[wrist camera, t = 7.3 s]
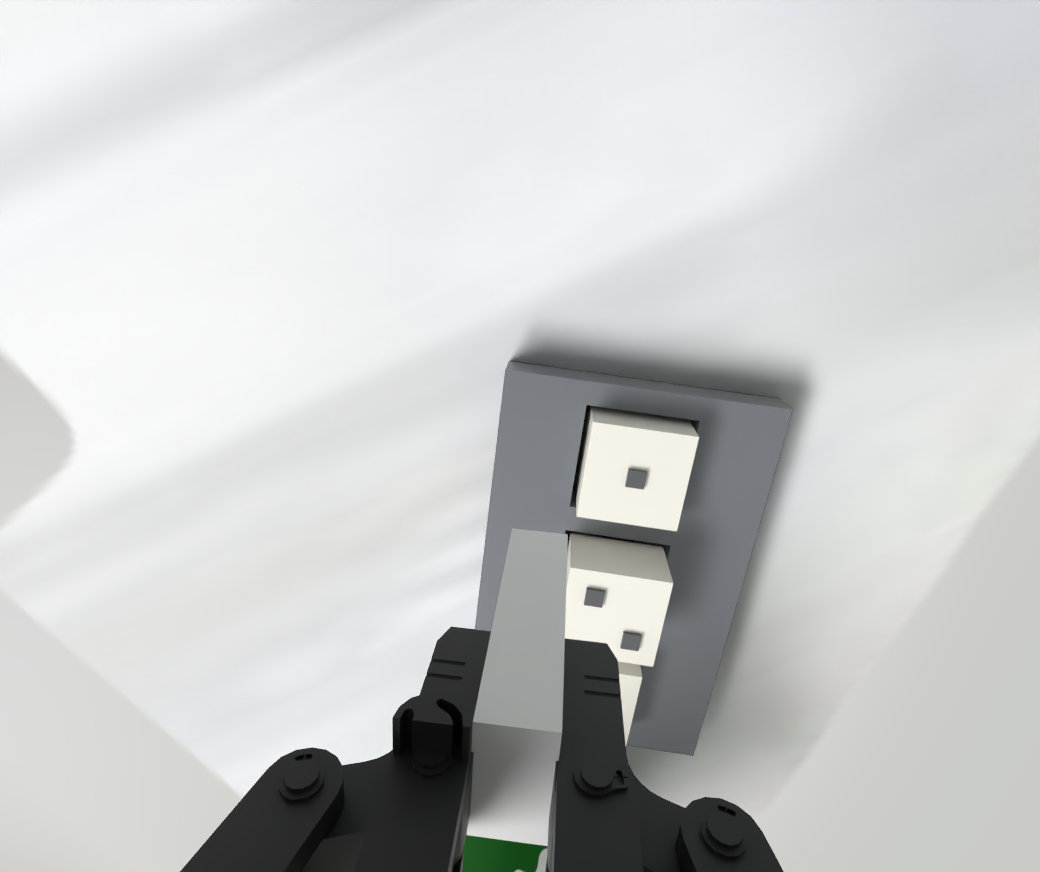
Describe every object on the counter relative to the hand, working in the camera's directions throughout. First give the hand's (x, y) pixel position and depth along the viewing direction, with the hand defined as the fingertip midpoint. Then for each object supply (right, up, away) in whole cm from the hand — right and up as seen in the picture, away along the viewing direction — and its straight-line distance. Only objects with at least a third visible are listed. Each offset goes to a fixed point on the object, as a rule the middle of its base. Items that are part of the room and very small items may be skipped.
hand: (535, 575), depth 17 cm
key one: (+5, +3, +16) cm, 17 cm away
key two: (+4, -4, +17) cm, 18 cm away
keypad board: (+5, -4, +18) cm, 19 cm away
